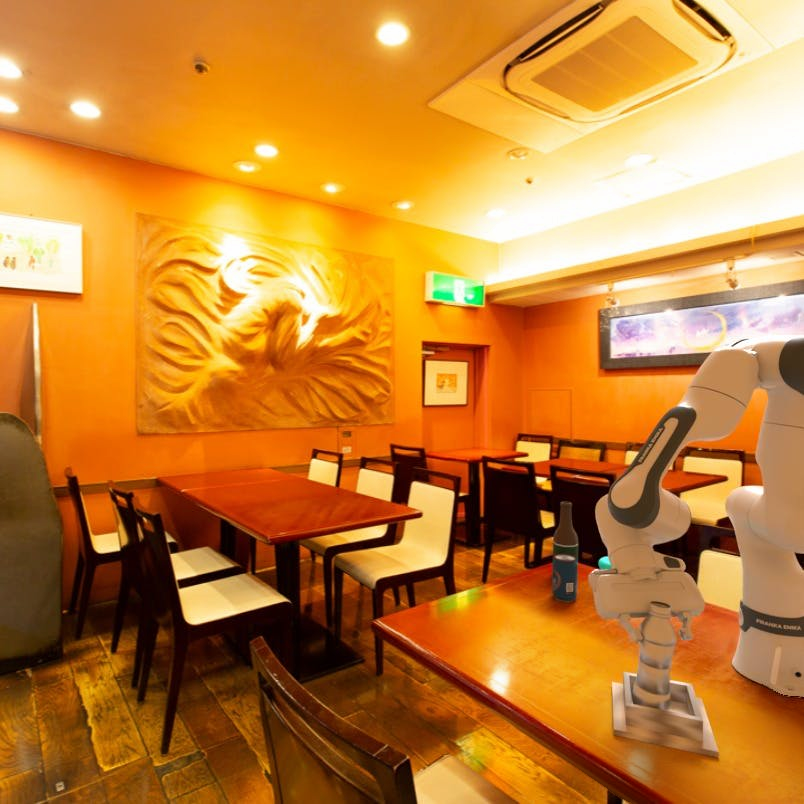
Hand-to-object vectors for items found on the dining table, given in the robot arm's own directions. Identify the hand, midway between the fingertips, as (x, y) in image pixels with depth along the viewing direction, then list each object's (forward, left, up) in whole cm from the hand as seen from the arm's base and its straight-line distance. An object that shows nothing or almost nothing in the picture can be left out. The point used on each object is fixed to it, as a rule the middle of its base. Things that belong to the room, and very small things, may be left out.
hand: (663, 640), depth 96 cm
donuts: (+6, -62, -15) cm, 64 cm away
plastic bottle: (+2, +1, -14) cm, 14 cm away
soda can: (+20, -53, -15) cm, 58 cm away
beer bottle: (+21, -72, -15) cm, 76 cm away
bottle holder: (0, -1, -15) cm, 15 cm away
